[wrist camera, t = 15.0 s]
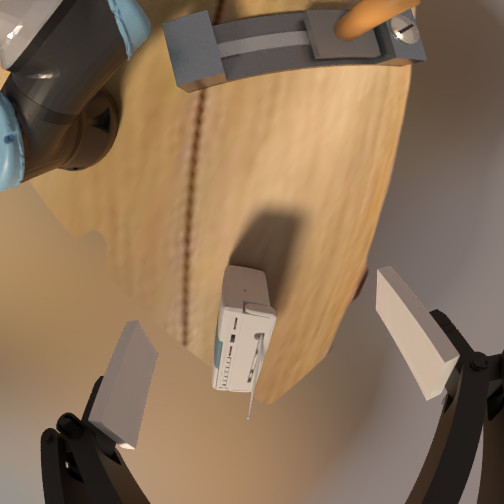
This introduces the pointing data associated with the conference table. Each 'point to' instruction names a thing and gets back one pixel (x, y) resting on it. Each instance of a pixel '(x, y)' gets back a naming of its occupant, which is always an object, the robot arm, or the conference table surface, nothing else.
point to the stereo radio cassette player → (242, 330)
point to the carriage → (351, 28)
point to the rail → (270, 47)
